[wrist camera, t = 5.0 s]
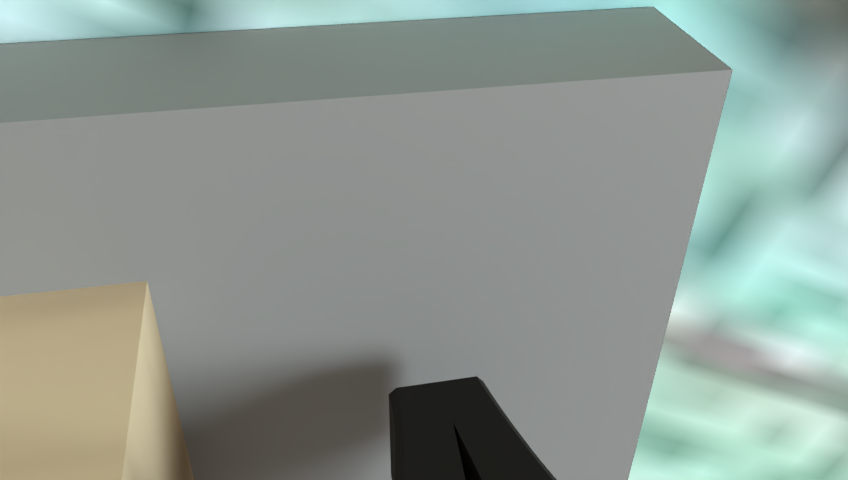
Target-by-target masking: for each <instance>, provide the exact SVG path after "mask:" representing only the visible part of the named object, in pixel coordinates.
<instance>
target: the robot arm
mask: <svg viewBox="0 0 848 480" xmlns="http://www.w3.org/2000/svg"><path fill="white" fill-rule="evenodd" d="M389 423H390V457H391V477H392V480H556V478H555V477H554V476H553V475H552V474H551V472H550V471H549V470H548V469H547V468H546V466H545V465H544V464H543V463H542V462H541V460H540V459H539V458H538V457H537V455H536V454H535V453H534V452H533V450H532V449H531V448H530V446H529V445H528V444H527V443H526V441H525V440H524V439H523V437H522V436H521V435H520V433H519V432H518V431H517V429H516V428H515V427H514V425H513V424H512V423H511V421H510V420H509V418H508V417H507V416H506V414H505V413H504V411H503V410H502V409H501V407H500V406H499V404H498V403H497V401H496V400H495V398H494V397H493V396H492V394H491V393H490V391H489V389H488V388H487V386H486V385H485V383H484V382H483V381H482V380H481V379H480V378H478V377H477V376H475V377H468V378H461V379H454V380H447V381H440V382H433V383H426V384H419V385H412V386H405V387H398V388H395V389H394V390H393V391H392V392H391V393H390V394H389Z"/></svg>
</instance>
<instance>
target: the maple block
mask: <svg viewBox="0 0 848 480" xmlns="http://www.w3.org/2000/svg"><path fill="white" fill-rule="evenodd" d="M0 480H194V477H193V473H192V469H191V464H190V460H189V456H188V452H187V447H186V443H185V439H184V435H183V431H182V426H181V422H180V418H179V414H178V409H177V405H176V401H175V397H174V393H173V388H172V384H171V380H170V376H169V371H168V367H167V363H166V359H165V355H164V350H163V346H162V342H161V338H160V333H159V329H158V325H157V321H156V317H155V312H154V308H153V304H152V300H151V295H150V291H149V287H148V283H147V281H142V282H133V283H124V284H114V285H105V286H96V287H86V288H77V289H68V290H58V291H49V292H40V293H30V294H21V295H12V296H2V297H0Z"/></svg>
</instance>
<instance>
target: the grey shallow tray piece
mask: <svg viewBox="0 0 848 480" xmlns="http://www.w3.org/2000/svg"><path fill="white" fill-rule="evenodd" d="M731 74H732V69H731V68H730V67H729V66H727V65H726V64H725V63H723V62H722V61H721V60H720V59H718V58H717V57H716V56H715V55H713V54H712V53H711V52H710V51H708V50H707V49H706V48H705V47H703V46H702V45H701V44H700V43H698V42H697V41H696V40H695V39H693V38H692V37H691V36H690V35H688V34H687V33H686V32H684V31H683V30H682V29H681V28H679V27H678V26H677V25H676V24H674V23H673V22H672V21H671V20H669V19H668V18H667V17H666V16H664V15H663V14H662V13H661V12H659V11H658V10H657V9H656V8H654V7H641V8H623V9H606V10H588V11H570V12H553V13H535V14H518V15H500V16H483V17H465V18H448V19H430V20H413V21H395V22H378V23H360V24H343V25H325V26H307V27H290V28H272V29H255V30H237V31H220V32H202V33H185V34H167V35H150V36H132V37H115V38H97V39H80V40H62V41H45V42H27V43H9V44H0V297H2V296H12V295H21V294H30V293H40V292H49V291H58V290H68V289H77V288H86V287H96V286H105V285H114V284H124V283H133V282H142V281H147V283H148V287H149V291H150V295H151V300H152V304H153V308H154V312H155V317H156V321H157V325H158V329H159V333H160V338H161V342H162V346H163V350H164V355H165V359H166V363H167V367H168V371H169V376H170V380H171V384H172V388H173V393H174V397H175V401H176V405H177V409H178V414H179V418H180V422H181V426H182V431H183V435H184V439H185V443H186V447H187V452H188V456H189V460H190V464H191V469H192V473H193V477H194V480H392V477H391V457H390V423H389V394H390V393H391V392H392V391H393V390H394V389H395V388H398V387H405V386H412V385H419V384H426V383H433V382H440V381H447V380H454V379H461V378H468V377H475V376H477V377H478V378H480V379H481V380H482V381H483V382H484V383H485V385H486V386H487V388H488V389H489V391H490V393H491V394H492V396H493V397H494V398H495V400H496V401H497V403H498V404H499V406H500V407H501V409H502V410H503V411H504V413H505V414H506V416H507V417H508V418H509V420H510V421H511V423H512V424H513V425H514V427H515V428H516V429H517V431H518V432H519V433H520V435H521V436H522V437H523V439H524V440H525V441H526V443H527V444H528V445H529V446H530V448H531V449H532V450H533V452H534V453H535V454H536V455H537V457H538V458H539V459H540V460H541V462H542V463H543V464H544V465H545V466H546V468H547V469H548V470H549V471H550V472H551V474H552V475H553V476H554V477H555V478H556V480H628V477H629V473H630V469H631V465H632V461H633V458H634V454H635V450H636V446H637V442H638V438H639V434H640V430H641V426H642V422H643V418H644V414H645V411H646V407H647V403H648V399H649V395H650V391H651V387H652V383H653V379H654V375H655V371H656V367H657V364H658V360H659V356H660V352H661V348H662V344H663V340H664V336H665V332H666V328H667V324H668V320H669V317H670V313H671V309H672V305H673V301H674V297H675V293H676V289H677V285H678V281H679V277H680V273H681V270H682V266H683V262H684V258H685V254H686V250H687V246H688V242H689V238H690V234H691V230H692V226H693V223H694V219H695V215H696V211H697V207H698V203H699V199H700V195H701V191H702V187H703V183H704V179H705V176H706V172H707V168H708V164H709V160H710V156H711V152H712V148H713V144H714V140H715V136H716V132H717V129H718V125H719V121H720V117H721V113H722V109H723V105H724V101H725V97H726V93H727V89H728V85H729V82H730V78H731Z"/></svg>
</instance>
